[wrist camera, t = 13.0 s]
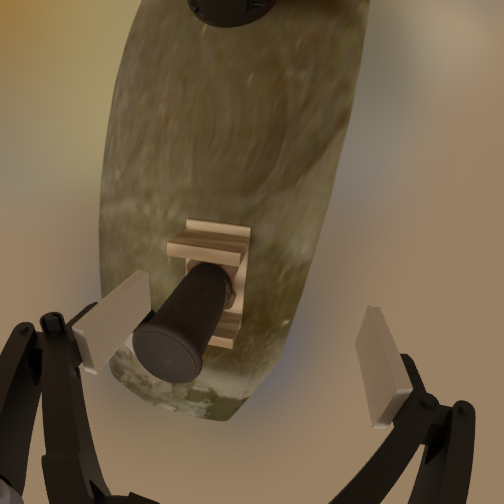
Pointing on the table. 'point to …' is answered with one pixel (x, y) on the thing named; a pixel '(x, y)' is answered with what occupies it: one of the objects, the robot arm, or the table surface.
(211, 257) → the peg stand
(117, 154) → the table surface
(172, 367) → the container
